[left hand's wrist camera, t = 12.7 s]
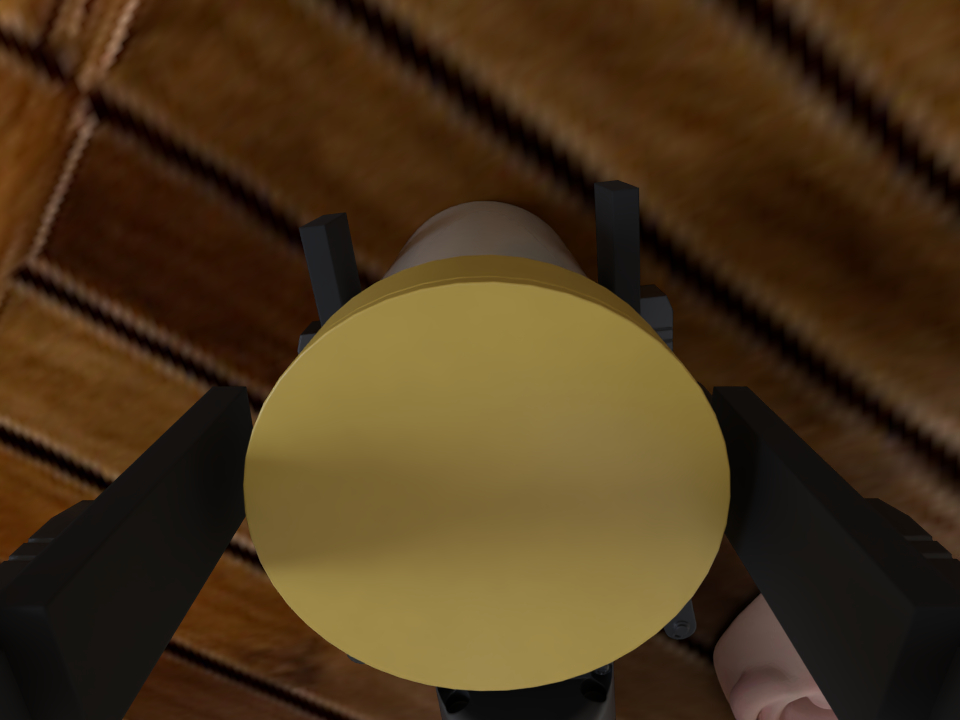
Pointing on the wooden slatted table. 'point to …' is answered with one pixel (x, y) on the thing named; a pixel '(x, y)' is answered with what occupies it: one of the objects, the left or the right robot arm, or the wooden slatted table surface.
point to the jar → (484, 237)
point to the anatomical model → (766, 670)
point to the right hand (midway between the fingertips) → (467, 203)
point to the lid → (486, 477)
